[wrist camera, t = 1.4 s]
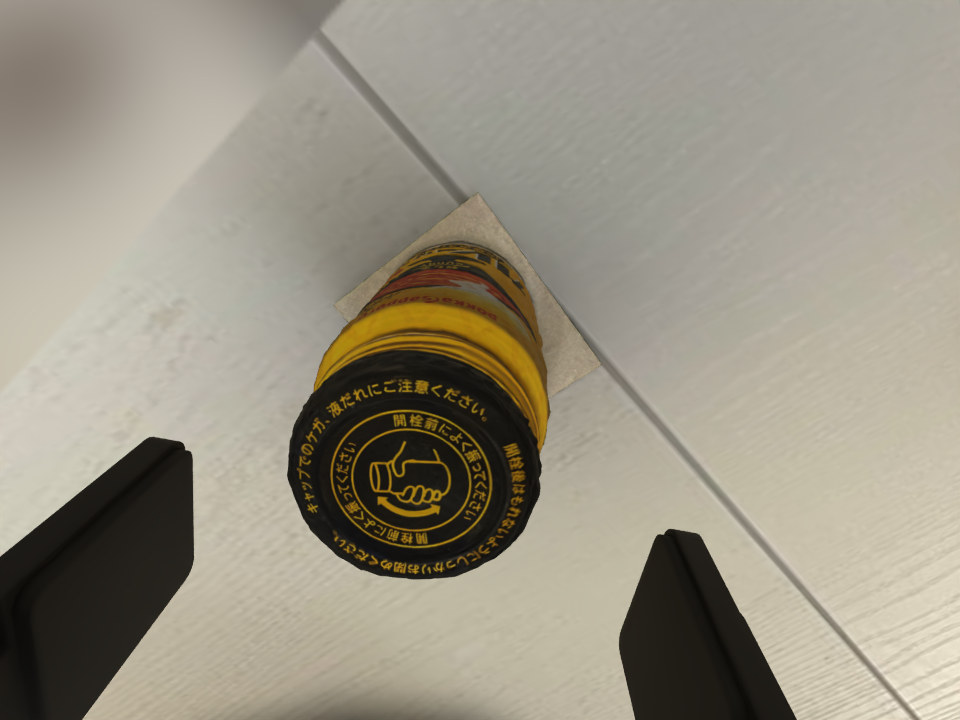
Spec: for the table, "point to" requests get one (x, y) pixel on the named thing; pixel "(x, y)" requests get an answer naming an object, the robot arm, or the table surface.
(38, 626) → the robot arm
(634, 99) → the table surface
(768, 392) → the table surface
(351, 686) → the table surface
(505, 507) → the condiment
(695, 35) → the table surface
